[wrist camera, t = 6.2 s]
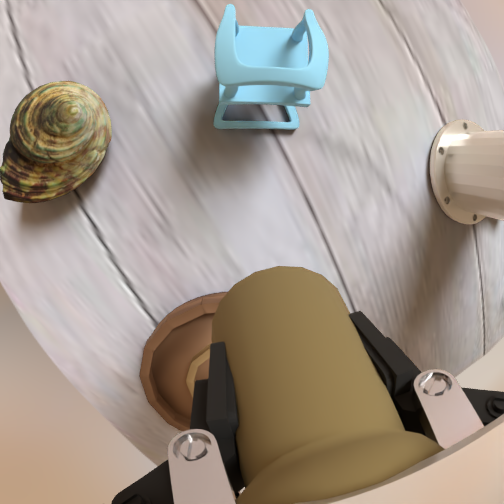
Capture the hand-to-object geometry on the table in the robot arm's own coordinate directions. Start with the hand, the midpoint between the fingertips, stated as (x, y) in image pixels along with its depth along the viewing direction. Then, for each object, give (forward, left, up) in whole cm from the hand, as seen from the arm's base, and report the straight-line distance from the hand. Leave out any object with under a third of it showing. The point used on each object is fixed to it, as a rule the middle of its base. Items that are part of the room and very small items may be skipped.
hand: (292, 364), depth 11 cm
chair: (+4, -14, -19) cm, 25 cm away
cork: (0, 0, -2) cm, 2 cm away
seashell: (+20, -4, -20) cm, 29 cm away
